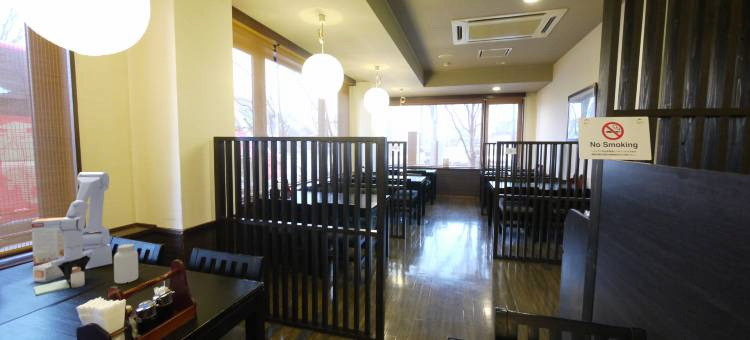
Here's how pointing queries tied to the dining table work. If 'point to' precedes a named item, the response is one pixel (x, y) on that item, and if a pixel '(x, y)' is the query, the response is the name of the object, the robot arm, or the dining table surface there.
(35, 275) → the block
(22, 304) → the dining table surface
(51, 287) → the pad
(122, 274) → the pill bottle
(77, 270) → the terracotta peg
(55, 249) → the cracker box
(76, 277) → the ivory peg
